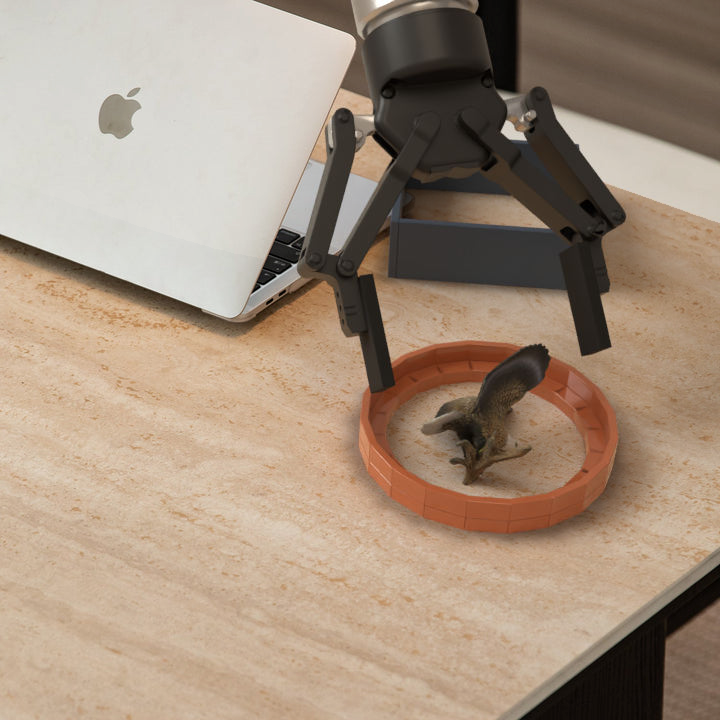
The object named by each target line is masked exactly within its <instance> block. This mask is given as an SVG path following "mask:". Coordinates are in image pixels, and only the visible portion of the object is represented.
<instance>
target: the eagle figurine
mask: <svg viewBox="0 0 720 720" xmlns="http://www.w3.org/2000/svg"><path fill="white" fill-rule="evenodd" d="M523 347H524V348H521V349H519V350H518V351H517V352H515V353H514V354H512V355H511V356H510V357H508V358H507V359H505V360H504V361H503V362H501V363H500V364H499V365H497V366H496V367H495V368H494V369H493V370H491V371H490V372H489V373H488V374H487V375H486V377H485V378H484V380H483V382H482V383H481V385H480V387H479V392H478V393H477V395H467V396H464V397H459V398H455V399H452V400H450V401H446V402H445V403H443V404H442V405H441V406H440V407H439V409H438V411H437V413H436V414H435V416H434V418H431V419H430V420H427V421H425V422H424V423H422V425H421V427H420V429H419V430H420V432H421V434H423V435H425V436H433V435H438V434H440V433H443V432H447V431H453V432H454V433H456V435H457V437H458V441H457V442H455V446H457V447H461V450H462V453H463V457H462V458H461V457H453V458H450V459H448V463H449V464H451V465H453V466H456V465H462V467H463V466H464V467H465V473H464V477H463V480H462V485H463V486H466V487H467V486H469V485H470V484H471V483H472V482H473V481H474V480H478V479H479V478H480V476H481V475H484V472H485V471H486V469H488V468H490V467H492V466H493V464H497V463H500V462H504V461H509V460H514V459H519V458H522V457H525V456H526V455H527V454H529V452H531V450H533V446H532V445H530V444H528V445H526V446H522V447H518V441H516V440H515V439H514V437H512V435H511V434H510V433H509V432H508V431H507V430H506V426H505V419H506V416H507V413H508V412H511V411H513V406H514V405H516V404H517V403H518V402H520V401H522V400H523V398H524V397H525V396H526V395H527V393H528V391H530V390H532V389H533V388H535V387H536V386H537V385H539V384H540V383H541V382H542V381H543V379H544V378H545V372H546V370H547V369H548V366H549V361H550V360H551V356H552V355H550V353H549V348H547V347H546V345H545V344H543V343H542V342H539V343H534V344H529V345H525V346H523Z"/></svg>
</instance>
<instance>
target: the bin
mask: <svg viewBox="0 0 720 720" xmlns="http://www.w3.org/2000/svg"><path fill="white" fill-rule="evenodd" d="M508 139H509V140H510V141H512V142H513V143H514V144H515V145H516V146H517V147H518V148H519V149H520V151H521V154H522V156H523V157H524V158H525V159H526V160H527V161H528V162H529V163H531V164H532V165H533V166H534V167H535V168H536V169H537V170H539V171H540V172H541V173H542V174H543V175H544V176H546V177H547V178H548V179H549V180H550V181H551V182H552V183H554V184H555V185H556V186H557V187H558V188H559V189H560V190H562V189H561V187H560V186H559V184H558V183H557V182H556V180H555V179H554V178H553V176H552V175H551V174H550V172H549V171H548V170H547V168H546V167H545V166H544V164H543V163H542V162H541V160H540V159H539V158H538V156H537V155H536V153H535V152H534V151H533V149H532V148H531V146H530V145H529V143H528V142H527V140H526V139H510V138H508ZM575 145H576V146H577V147H578V149H579V150H580V151H581V148H580V144H579V143H575ZM492 155H493V154H492ZM493 156H494V155H493ZM494 157H495V156H494ZM406 189H407V190H423V191H436V192H438V191H439V192H452V193H465V194H466V193H469V194H482V195H494V196H495V195H497V196H511V197H513V196H512V195H511V194H510V193H508V192H507V191H506V190H505V189H504V188H503V187H501V186H500V185H499V184H498V183H497V182H494V181H490V180H488V179H487V178H486V177H484V176H483V175H482V174H481V173H480V172H479V171H477V172H475V173H473V174H472V175H471V176H470V177H466V178H450V177H443V178H441V179H438V180H436V181H434V182H427V183H422V182H421V180H418V179H415V178H413V177H412V176H411V177H410V179H409V180H408V182H407V183H406V185H405V186H404V188H403V190H402V192H401V194H400V195H399V197H398V199H397V201H396V203H395V204H394V206H393V208H392V210H391V216H390V226H389V227H390V228H389V242H388V243H389V244H388V245H389V246H388V262H387V263H388V264H387V278H388V279H400V280H414V281H415V280H416V281H430V282H442V283H443V282H445V283H458V284H473V285H486V286H500V287H501V286H502V287H514V288H529V289H541V290H542V289H544V290H557V291H567V289H566V284H565V280H564V275H563V271H562V266H561V262H560V257H559V253H561V252H563V251H564V250H566V249H568V248H569V247H571V246H570V245H568V244H567V243H566V242H565V241H564V240H563V239H561V238H560V237H559V236H558V235H557V234H556V233H555V232H553V231H552V230H551V229H550V228H549V227H547V228H546V227H533V226H520V225H519V226H517V225H503V224H490V223H477V222H474V223H473V222H460V221H445V220H432V219H431V220H430V219H418V218H417V219H416V218H403V211H404V202H405V201H404V200H405V191H406ZM562 191H563V190H562ZM563 192H564V191H563Z"/></svg>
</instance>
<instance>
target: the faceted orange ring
mask: <svg viewBox="0 0 720 720" xmlns="http://www.w3.org/2000/svg"><path fill="white" fill-rule="evenodd" d="M524 347H525V346H521V345H517V344H514V343H509V342H504V341H503V342H502V341H489V340H488V341H487V340H475V339H474V340H473V339H470V340H469V339H468V340H467V339H466V340H458V341H449V342H442V343H441V342H440V343H434V344H430V345H428V346H424V347H422V348H419V349H416V350H413V351H409V352H406V353H404V354H402V355H400V356H399V357H397V358H396V359H395V360H393V361H391V365H392V370H393V375H394V380H395V386H393V387H391V388H389V389H387V390H385V391H383V392H378V393H372V394H371V392H370V388H369V385H368V386H367V387H366V389H365V390H364V392H363V393H362V398H361V408H360V415H359V433H358V449H359V451H360V454H361V457H362V460H363V462H364V465H365V468H366V470H367V473H368V475H369V476H370V477H371V478H372V479H373V480H374V482H375V483H376V484H377V485H378V486H379V487H380V488H381V489H382V490H383V491H384V493H385V494H386V495H387V496H388V497H389V498H390V499H391V500H393V501H395V502H397V503H399V504H400V505H401V506H403V507H405V508H406V509H408V510H409V511H412V512H413V513H414V514H416V515H419V516H420V517H421V518H424V519H427V520H430V521H433V522H437V523H440V524H443V525H446V526H449V527H453V528H455V529H459V530H463V531H469V532H484V533H495V534H496V533H497V534H515V533H521V532H526V531H528V532H529V531H533V530H540V529H547V528H550V527H552V526H554V525H557V524H559V523H561V522H564V521H566V520H569V519H570V518H573V517H575V516H577V515H579V514H582V513H583V512H584V511H585V510H586V509H587V508H588V507H589V506H590V505H591V504H592V503H593V502H595V500H596V499H598V498H599V497H600V496H601V495H602V494H603V493H604V491H605V489H606V486H607V484H608V481H609V478H610V475H611V473H612V470H613V468H614V464H615V459H616V454H617V449H618V444H619V439H620V437H619V429H618V424H617V415H616V411H615V410H614V408H613V407H612V405H611V403H610V402H609V400H608V399H607V397H606V395H605V393H603V391H602V389H601V388H600V387H599V386H598V385H597V384H595V383H594V382H593V381H592V380H590V378H588V377H587V376H586V375H584V374H583V373H582V372H581V371H580V370H579V369H577V368H576V367H574V366H572V365H571V364H568V363H566V362H565V361H562V360H560V359H558V358H556V357H554V356H552V355H550V356H551V360H550V361H549V366H548V369H547V370H546V372H545V378H544V379H543V381H542V382H541V383H540V384H539V385H537V386H536V387H535V388H533V389H532V390H530V391H527V393H530V394H533V395H534V396H536V397H538V398H540V399H541V400H544V401H546V402H548V403H550V404H552V405H553V406H555V407H556V408H557V409H558V410H559V411H560V412H562V413H563V414H564V415H565V416H566V417H567V418H568V419H570V420H571V421H572V422H573V424H574V426H575V428H576V429H577V431H578V432H579V434H580V436H581V437H582V440H583V442H584V449H585V458H584V460H583V464H582V466H581V468H580V469H579V471H578V472H577V473H575V475H573V476H572V477H571V478H570V479H569V480H568V481H567V482H566V483H565V484H564V485H562V486H560V487H558V488H555V489H554V490H551V491H548V492H546V493H540V494H533V495H526V496H520V497H514V498H513V497H512V498H506V497H494V496H493V497H492V496H479V495H469V494H465V493H461V492H459V491H455V490H452V489H449V488H445V487H442V486H438V485H434V484H433V483H429V482H427V481H426V480H424V479H423V478H422V477H419V476H418V475H416V474H414V473H412V472H410V471H409V470H408V469H406V468H405V466H403V464H402V463H401V462H400V461H399V460H398V459H397V458H396V457H395V456H394V453H393V451H392V449H391V446H390V443H389V441H388V438H387V429H388V428H387V427H388V425H389V424H390V422H391V420H392V418H393V417H394V416H395V413H396V412H397V410H398V409H399V408H400V407H402V406H403V405H404V404H406V403H407V402H408V401H410V400H411V399H413V397H415V396H418V395H419V394H421V393H424V392H427V391H430V390H433V389H435V388H438V387H441V386H446V385H454V384H462V383H481V384H482V382H483V380H484V378H485V377H486V375H487V374H488V373H489V372H490V371H491V370H493V369H494V368H495V367H496V366H497V365H499V364H500V363H501V362H503V361H504V360H505V359H507V358H508V357H510V356H511V355H512V354H514V353H515V352H517V351H518V350H519V349H521V348H524Z"/></svg>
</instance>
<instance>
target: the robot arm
mask: <svg viewBox="0 0 720 720" xmlns="http://www.w3.org/2000/svg"><path fill="white" fill-rule="evenodd" d="M350 2H351V7H352V12H353V17H354V21H355V27H356V32H357V35H358V37H360V38H361V39H362V40H363V42H362V44H361V46H360V53H361V58H362V62H363V63H362V64H363V68H364V72H365V77H366V82H367V87H368V92H369V96H370V97H369V98H370V101H371V103H372V114H354V113H353V112H352V111H351V110H350V109H349V108H347V107H339V108H337V109H336V110H335V112H334V113H333V114H332V115H331V117H330V118H329V120H328V122H327V124H326V125H325V127H324V139H325V152H326V160H325V165H324V168H323V171H322V175H321V179H320V182H319V185H318V189H317V193H316V197H315V200H314V203H313V207H312V211H311V214H310V217H309V222H308V226H307V228H306V231H305V236H304V240H303V243H302V246H301V250H300V254H299V257H298V261H297V265H296V272H297V274H298V275H299V276H300V277H301V278H303V279H305V280H306V279H307V280H309V279H315V280H316V279H317V280H321V281H322V280H323V281H325V282H326V283H327V285H328V286H329V287H331V288H332V290H333V294H334V300H335V305H336V309H337V314H338V319H339V324H340V330H341V332H342V333H343V335H344V336H345V338H348V339H349V338H354V337H358V338H359V342H360V347H361V353H362V357H363V363H364V367H365V372H366V379H367V382H368V386H369V388H370V392H371V394H372V393H378V392H383V391H385V390H387V389H389V388H391V387H393V386H395V380H394V375H393V370H392V365H391V363H392V360H391V356H390V352H389V345H388V340H387V336H386V332H385V326H384V321H383V316H382V311H381V306H380V302H379V297H378V292H377V287H376V282H375V278H374V273H366V274H360V275H359V274H358V271H359V269H360V267H361V265H362V263H363V262H364V260H365V258H366V256H367V254H368V252H369V251H370V249H371V247H372V246H373V244H374V242H375V240H376V238H377V236H378V234H379V233H380V232H381V229H382V228H383V225H384V224H385V222H386V220H387V219H388V218H389V215H390V213H391V212H392V208H393V206H394V204H395V203H396V201H397V199H398V197H399V195H400V194H401V192H402V190H403V188H404V186H405V185H406V183H407V182H408V180H409V179H410V177H411V176H412V177H413V178H415V179H418V180H421V182H422V183H427V182H434V181H436V180H438V179H441V178H443V177H450V178H466V177H470V176H471V175H472V174H473V173H475V172H477V171H479V172H480V173H481V174H482V175H483V176H484V177H486V178H487V179H488V180H490V181H494V182H497V183H498V184H499V185H500V186H501V187H503V188H504V189H505V190H506V191H507V192H508V193H510V194H511V195H512V196H511V197H513V198H514V199H515V200H516V201H518V202H519V203H520V204H521V205H522V206H523V207H525V209H526V210H528V211H529V212H530V213H531V214H532V215H534V216H535V218H537V219H538V220H539V221H541V222H542V223H543V224H544V225H545V226H546V227H547V228H549V229H551V230H552V231H553V232H555V233H556V234H557V235H558V236H559V237H560V238H561V239H563V240H564V241H565V242H566V243H567V244H568V245H570V246H571V247H569V248H568V249H566V250H564V251H563V252H561V253H559V257H560V262H561V266H562V271H563V275H564V280H565V284H566V289H567V290H566V293H567V297H568V302H569V307H570V311H571V315H572V319H573V325H574V330H575V334H576V338H577V344H578V347H579V352H580V356H581V357H586V356H591V355H595V354H597V353H600V352H603V351H605V350H608V349H611V348H612V347H613V346H612V341H611V337H610V333H609V328H608V323H607V319H606V314H605V310H604V305H603V300H602V296H603V295H605V294H607V293H610V287H611V281H610V277H609V274H608V273H609V272H608V268H607V265H606V259H605V255H604V250H603V246H602V245H603V244H602V243H603V238H604V237H605V235H606V234H608V233H610V232H611V231H613V230H615V229H616V228H618V227H620V226H622V225H623V224H624V223H625V222H626V219H627V214H626V211H625V210H624V208H623V206H622V205H621V204H620V203H619V201H618V200H617V198H616V197H615V196H614V194H613V193H612V192H611V190H610V189H609V188H608V187H607V185H606V183H604V181H603V180H602V178H601V177H600V176H599V174H598V172H596V170H595V169H594V167H593V166H592V165H591V164H590V162H589V161H588V159H586V156H584V154H583V153H582V151H581V149H580V150H579V149H578V147H577V146H576V145H575V144H576V143H575V142H574V140H573V139H572V138H571V136H570V135H569V133H567V131H566V130H565V129H564V127H563V125H562V124H561V123H560V121H558V119H557V116H556V113H555V110H554V106H553V103H552V101H551V98H550V95H549V93H548V91H547V89H546V88H544V87H542V86H539V85H538V86H534V87H533V88H531V89H530V90H529V91H528V92H527V93H526V94H524V95H519V96H515V97H511V98H506V99H503V97H502V96H501V95H500V93H499V92H498V90H497V88H496V86H495V81H494V72H493V71H494V70H493V65H492V60H491V55H490V51H489V46H488V42H487V38H486V37H487V36H486V32H485V29H484V24H483V20H482V18H481V17H480V16H479V15H477V14H476V12H477V11H478V8H479V1H478V0H350ZM506 121H507V122H509V123H511V124H512V125H513V129H514V130H515V131H516V132H517V133H518V132H519V133H522V134H523V136H524V138H525V140H526V141H527V142H528V143H529V145H530V146H531V148H532V149H533V151H534V152H535V153H536V155H537V156H538V158H539V159H540V160H541V162H542V163H543V164H544V166H545V167H546V168H547V170H548V171H549V172H550V174H551V175H552V176H553V178H554V179H555V180H556V182H557V183H558V184H559V186H560V187H561V189H562V190H563V191H564V192H563V191H562V190H560V189H559V188H558V187H557V186H556V185H555V184H554V183H552V182H551V181H550V180H549V179H548V178H547V177H546V176H544V175H543V174H542V173H541V172H540V171H539V170H537V169H536V168H535V167H534V166H533V165H532V164H531V163H529V162H528V161H527V160H526V159H525V158H524V157H523V156H522V154H521V151H520V149H519V148H518V147H517V146H516V145H515V144H514V143H513V142H512V141H510V140H511V139H510V138H508V137H507V136H506V135H505V134H504V133H503V132H502V130H503V128H504V126H505V124H506ZM367 137H371V138H372V140H373V141H374V142H375V143H376V144H378V146H379V147H380V148H381V149H382V150H384V152H386V153H387V155H388V156H389V157H390V158H391V159H390V161H389V163H388V165H387V166H386V168H385V170H384V172H383V173H382V175H381V177H380V179H379V180H378V183H377V185H376V187H375V189H374V191H373V193H372V194H371V195H370V198H369V199H368V201H367V203H366V204H365V206H364V208H363V209H362V212H361V214H359V215H360V216H359V217H358V219H357V221H356V222H355V224H354V226H353V227H352V229H351V232H350V233H349V234H348V236H347V238H346V240H345V242H344V243H343V245H342V247H341V248H340V250H339V252H338V254H337V255H336V254H332V253H329V251H330V248H331V243H332V240H333V236H334V234H335V230H336V227H337V224H338V223H337V222H338V218H339V215H340V212H341V207H342V204H343V200H344V197H345V193H346V190H347V186H348V182H349V179H350V175H351V171H352V167H353V164H354V160H355V155H356V153H358V152H359V151H361V150H362V148H363V147H364V145H365V143H366V139H367ZM509 139H510V140H509ZM492 154H493V155H494V156H495V157H494V156H493V155H492Z"/></svg>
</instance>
